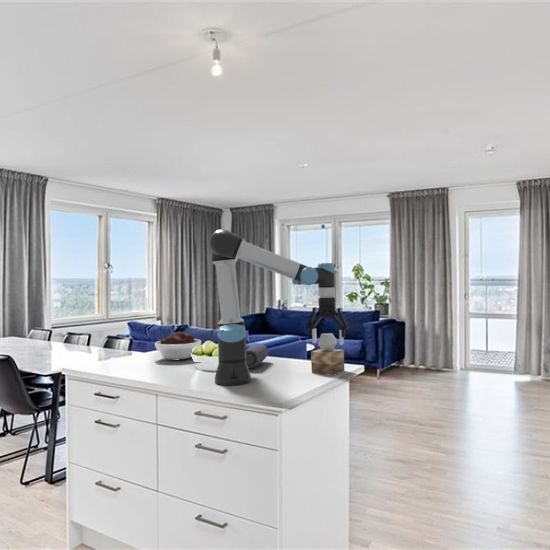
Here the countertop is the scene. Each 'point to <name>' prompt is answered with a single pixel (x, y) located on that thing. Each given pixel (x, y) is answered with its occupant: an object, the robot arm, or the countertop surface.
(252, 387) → the countertop surface
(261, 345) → the bluetooth speaker
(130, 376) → the countertop surface
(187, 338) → the white filled bowl
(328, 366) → the walnut slab
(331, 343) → the die
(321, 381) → the countertop surface
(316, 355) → the oak slab
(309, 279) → the robot arm
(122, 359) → the countertop surface
